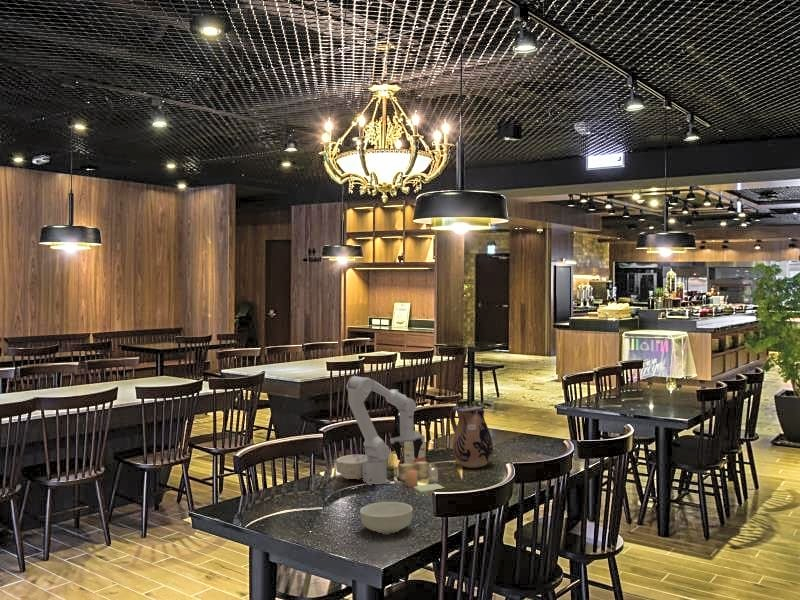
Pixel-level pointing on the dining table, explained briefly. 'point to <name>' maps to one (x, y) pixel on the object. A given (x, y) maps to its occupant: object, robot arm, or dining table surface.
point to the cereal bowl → (386, 516)
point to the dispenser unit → (419, 466)
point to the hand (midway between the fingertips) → (407, 458)
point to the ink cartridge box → (410, 451)
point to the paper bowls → (351, 466)
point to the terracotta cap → (412, 478)
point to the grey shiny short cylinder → (432, 475)
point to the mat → (428, 487)
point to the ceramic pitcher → (471, 437)
